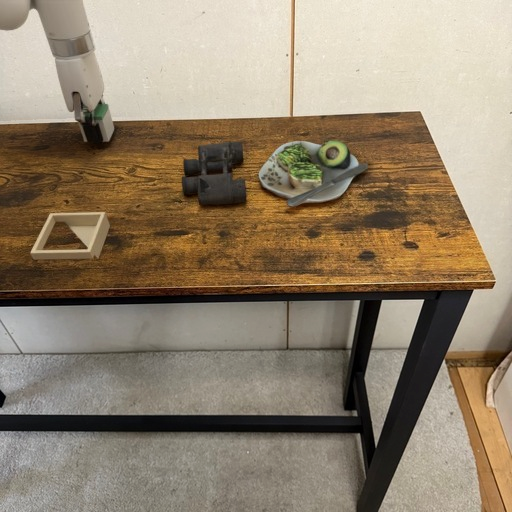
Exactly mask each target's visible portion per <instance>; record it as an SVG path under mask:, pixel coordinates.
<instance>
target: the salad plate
mask: <svg viewBox="0 0 512 512" xmlns="http://www.w3.org/2000/svg"><path fill="white" fill-rule="evenodd" d="M368 168H369V163H367V162H363V163H361V162H359V160H358V159H357V158H356V156H355V155H353V154H352V153H351V151H350V149H349V147H348V146H347V144H346V143H344V142H343V141H340V140H336V139H330V140H328V141H325V142H324V143H323V144H322V145H321V144H318V143H314V142H310V141H305V140H295V141H289V142H286V143H283V144H282V145H280V146H278V148H276V150H275V151H274V152H272V154H271V156H270V157H269V158H268V159H267V161H265V163H263V166H262V167H261V168H260V169H259V171H258V180H259V183H260V184H261V185H262V187H263V188H264V189H266V190H267V191H269V192H271V193H272V194H273V195H275V196H277V197H279V198H283V199H285V200H286V202H285V203H286V206H288V207H291V208H294V207H297V206H300V205H302V204H308V203H309V204H311V203H324V202H329V201H334V200H337V199H339V198H341V196H342V195H343V194H344V193H345V192H346V191H347V190H348V188H349V187H350V185H351V182H352V180H354V178H355V177H357V176H358V175H360V174H362V173H363V172H364V171H366V170H367V169H368Z"/></svg>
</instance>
